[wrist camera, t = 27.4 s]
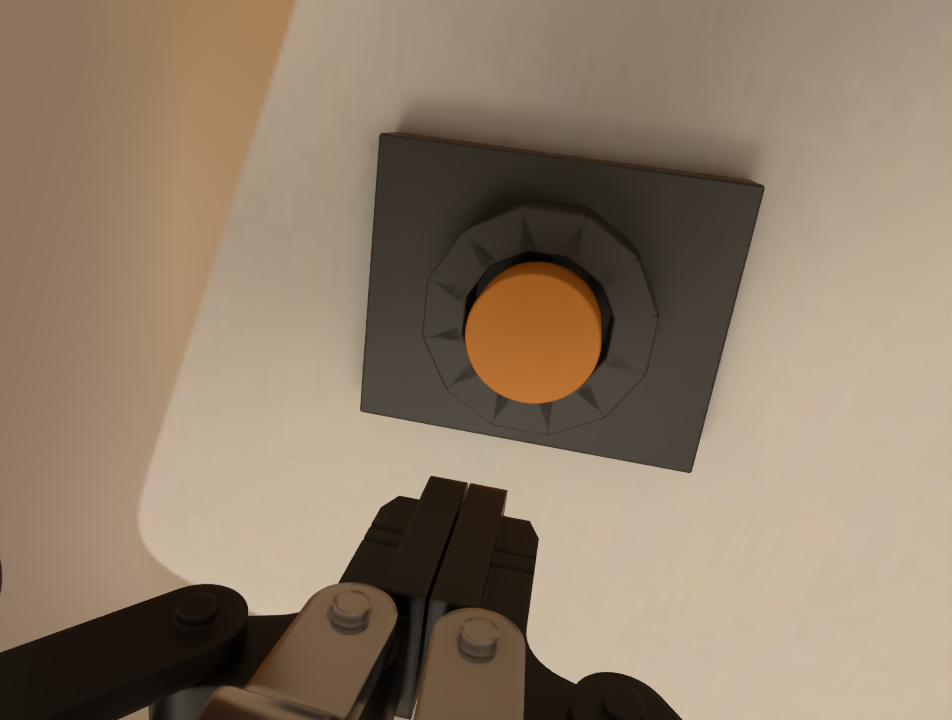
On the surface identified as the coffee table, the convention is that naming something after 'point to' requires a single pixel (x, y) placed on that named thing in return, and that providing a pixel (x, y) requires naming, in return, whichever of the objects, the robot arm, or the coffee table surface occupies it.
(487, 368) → the button
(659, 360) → the push button panel
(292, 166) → the coffee table surface
